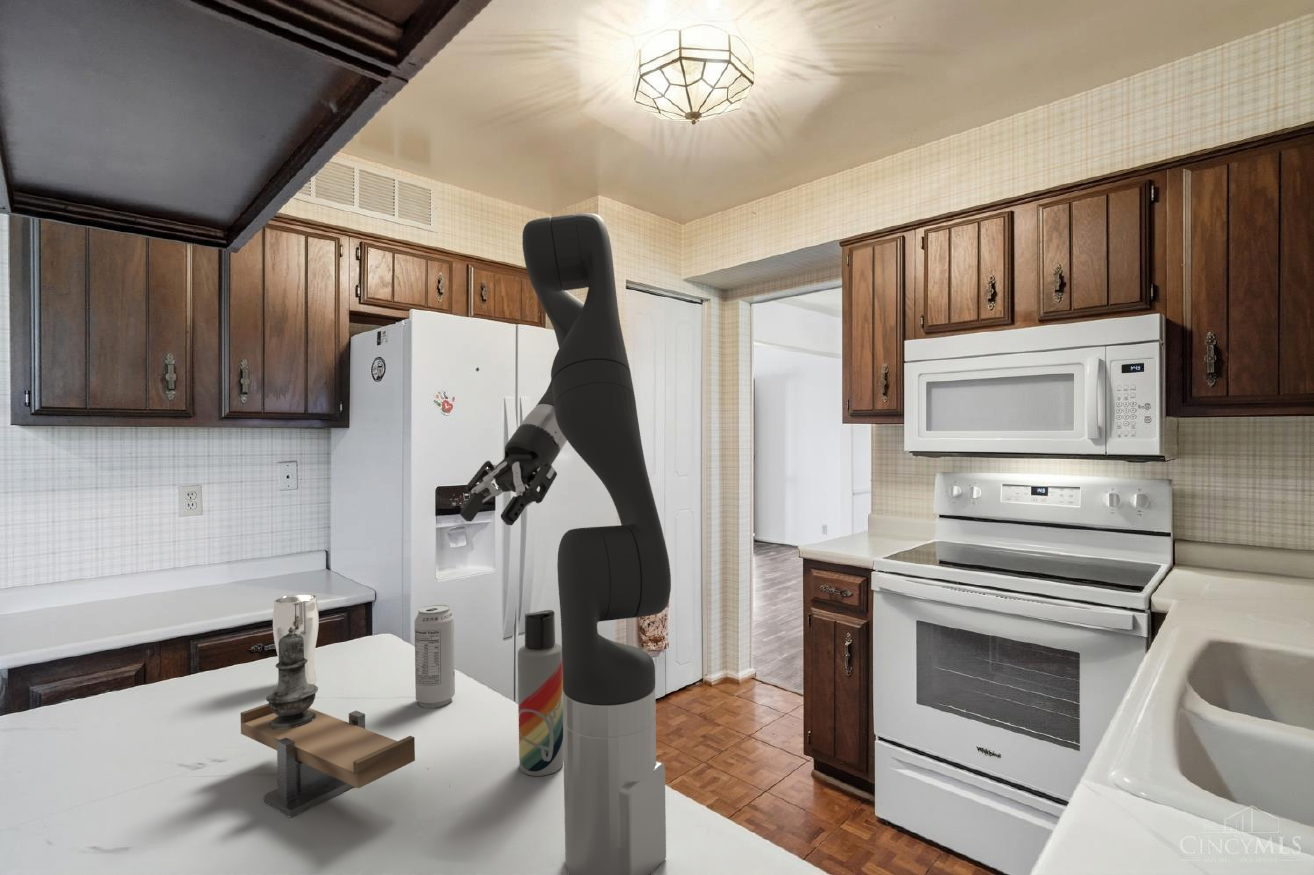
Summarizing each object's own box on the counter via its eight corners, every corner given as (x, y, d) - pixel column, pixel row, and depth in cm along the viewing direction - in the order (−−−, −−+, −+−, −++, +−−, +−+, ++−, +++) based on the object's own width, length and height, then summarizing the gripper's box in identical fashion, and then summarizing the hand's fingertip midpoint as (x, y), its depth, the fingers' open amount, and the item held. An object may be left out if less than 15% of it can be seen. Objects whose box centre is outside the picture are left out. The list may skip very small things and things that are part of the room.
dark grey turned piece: (295, 732, 80) (293, 634, 80) (254, 729, 81) (252, 633, 81) (328, 712, 85) (326, 621, 86) (290, 709, 87) (288, 620, 87)
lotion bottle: (529, 781, 80) (527, 619, 80) (512, 762, 84) (510, 609, 84) (571, 768, 83) (569, 611, 83) (553, 750, 87) (550, 602, 87)
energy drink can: (463, 698, 106) (461, 606, 106) (433, 712, 100) (432, 615, 100) (437, 691, 109) (436, 602, 109) (407, 704, 103) (406, 610, 103)
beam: (415, 760, 75) (414, 737, 75) (358, 788, 69) (357, 763, 69) (296, 713, 89) (295, 694, 89) (241, 733, 83) (240, 712, 83)
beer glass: (282, 678, 115) (281, 594, 115) (324, 675, 117) (323, 592, 117) (266, 693, 109) (265, 604, 109) (311, 690, 110) (310, 602, 110)
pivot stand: (379, 774, 82) (378, 715, 82) (290, 817, 73) (289, 751, 73) (352, 761, 85) (351, 705, 85) (263, 801, 76) (263, 738, 76)
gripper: (495, 423, 104) (436, 501, 95) (562, 421, 96) (505, 505, 87) (519, 455, 109) (466, 532, 99) (585, 455, 101) (534, 539, 91)
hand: (484, 519), depth 93 cm, fingers open, 8 cm apart
